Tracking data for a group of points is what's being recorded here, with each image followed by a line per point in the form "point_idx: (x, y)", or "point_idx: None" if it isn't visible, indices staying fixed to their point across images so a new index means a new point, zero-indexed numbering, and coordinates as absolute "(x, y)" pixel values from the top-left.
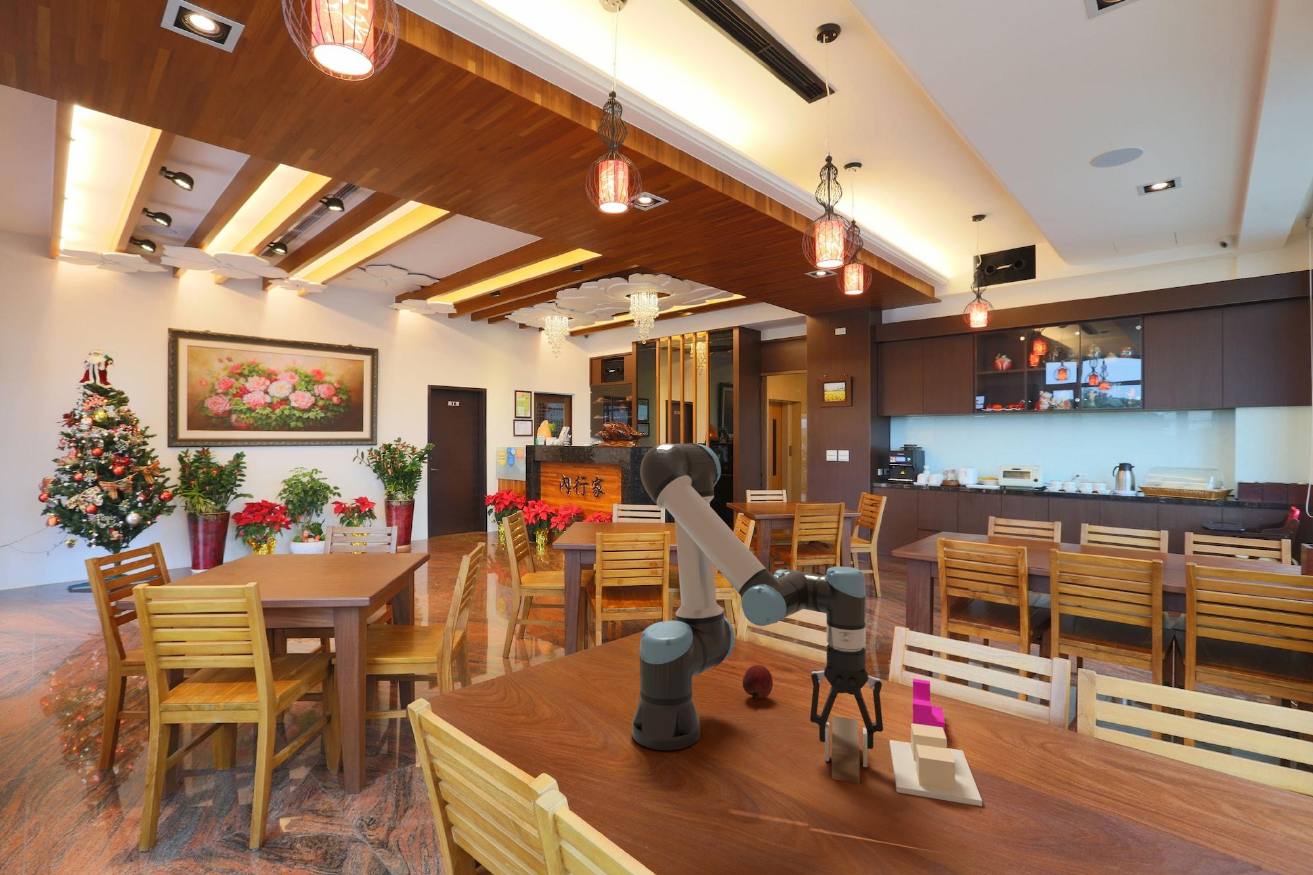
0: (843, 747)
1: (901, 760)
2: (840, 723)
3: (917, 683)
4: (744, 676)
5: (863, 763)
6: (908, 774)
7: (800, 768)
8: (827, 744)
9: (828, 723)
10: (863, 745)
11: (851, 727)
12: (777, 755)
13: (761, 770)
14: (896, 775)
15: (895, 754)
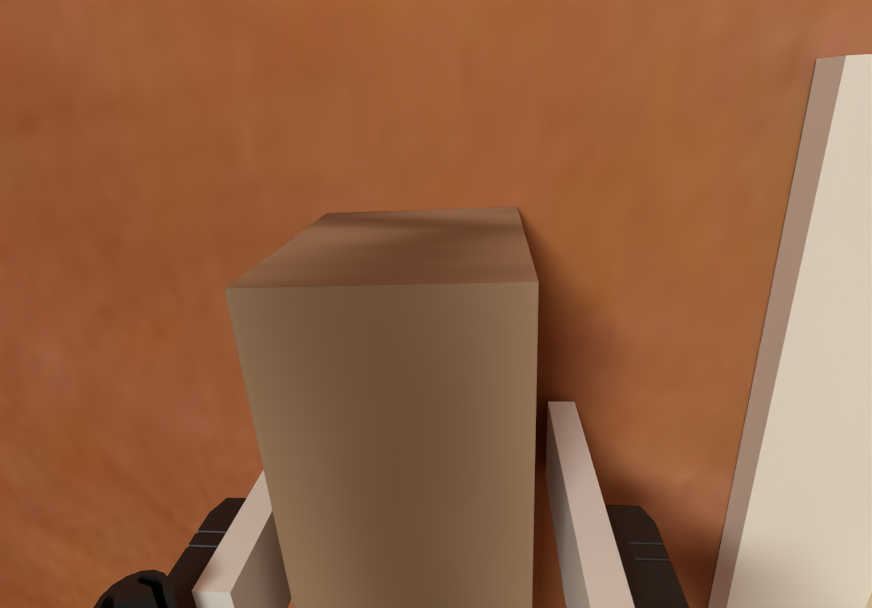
0: None
1: (839, 400)
2: (342, 443)
3: None
4: None
5: (548, 491)
6: (829, 544)
7: None
8: None
9: (226, 605)
10: (566, 600)
11: (464, 494)
12: (57, 471)
13: (55, 604)
14: (743, 570)
15: (817, 325)
